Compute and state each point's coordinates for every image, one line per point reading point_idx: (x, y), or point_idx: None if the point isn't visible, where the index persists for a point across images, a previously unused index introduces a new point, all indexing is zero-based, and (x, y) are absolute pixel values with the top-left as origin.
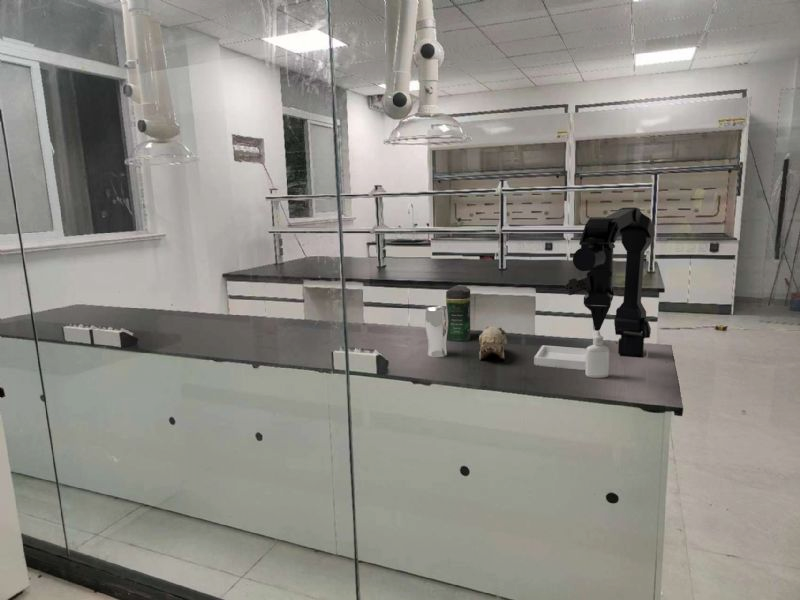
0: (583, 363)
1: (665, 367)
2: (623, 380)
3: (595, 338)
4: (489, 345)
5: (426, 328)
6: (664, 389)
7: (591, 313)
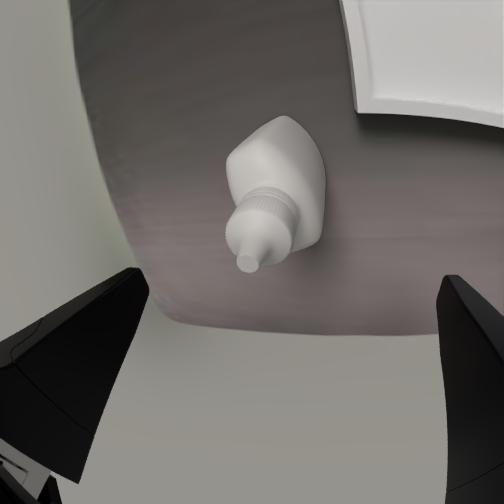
0: (355, 99)
1: None
2: None
3: (229, 222)
4: None
5: None
6: (251, 318)
7: (3, 340)
